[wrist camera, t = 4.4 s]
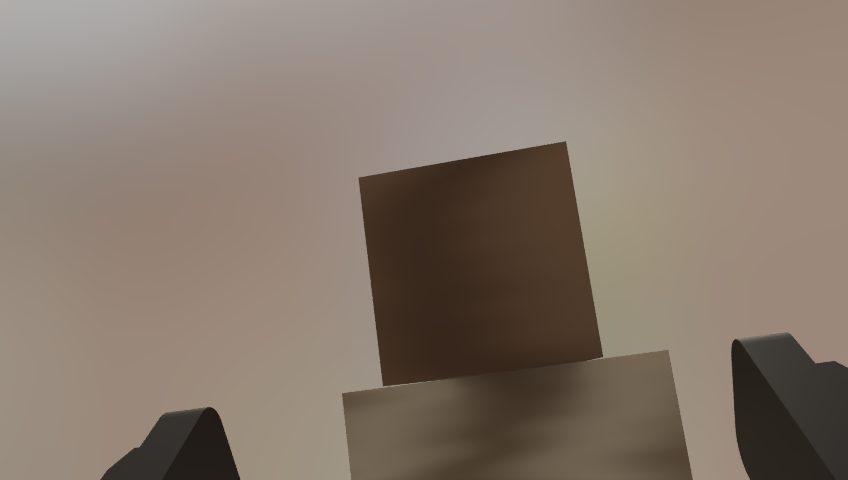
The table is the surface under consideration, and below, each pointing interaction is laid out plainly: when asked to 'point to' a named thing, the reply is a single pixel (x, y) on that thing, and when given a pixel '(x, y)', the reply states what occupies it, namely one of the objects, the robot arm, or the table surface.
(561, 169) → the bar
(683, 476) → the wooden block
